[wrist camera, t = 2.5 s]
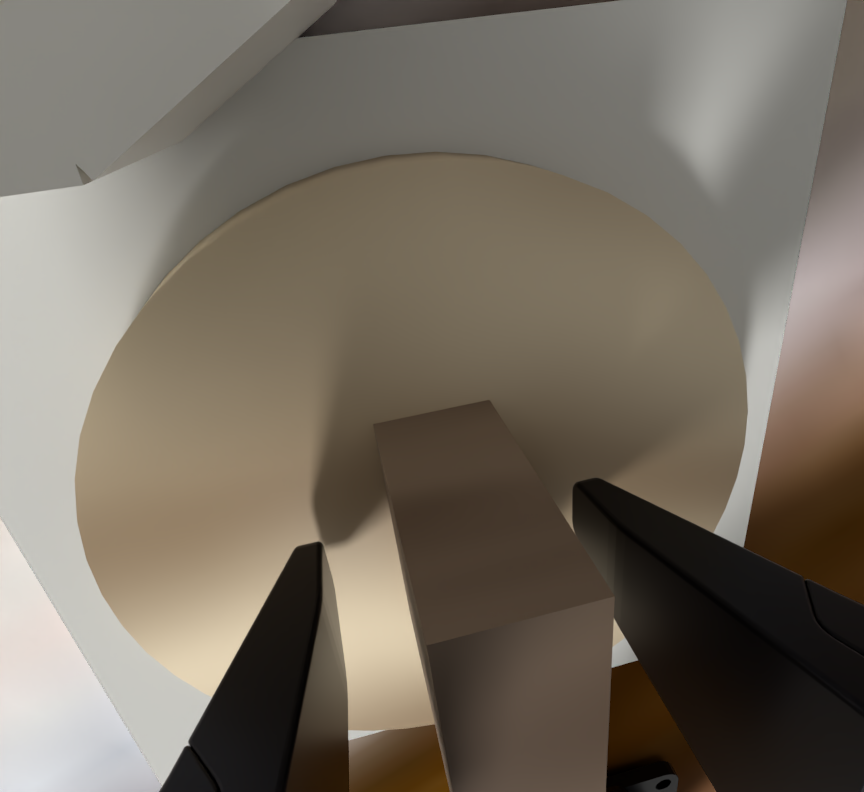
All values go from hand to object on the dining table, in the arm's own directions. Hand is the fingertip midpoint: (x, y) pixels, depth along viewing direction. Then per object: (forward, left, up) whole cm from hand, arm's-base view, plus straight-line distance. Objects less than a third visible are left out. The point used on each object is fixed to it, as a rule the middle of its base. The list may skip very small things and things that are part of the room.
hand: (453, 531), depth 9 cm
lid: (0, 0, -2) cm, 2 cm away
